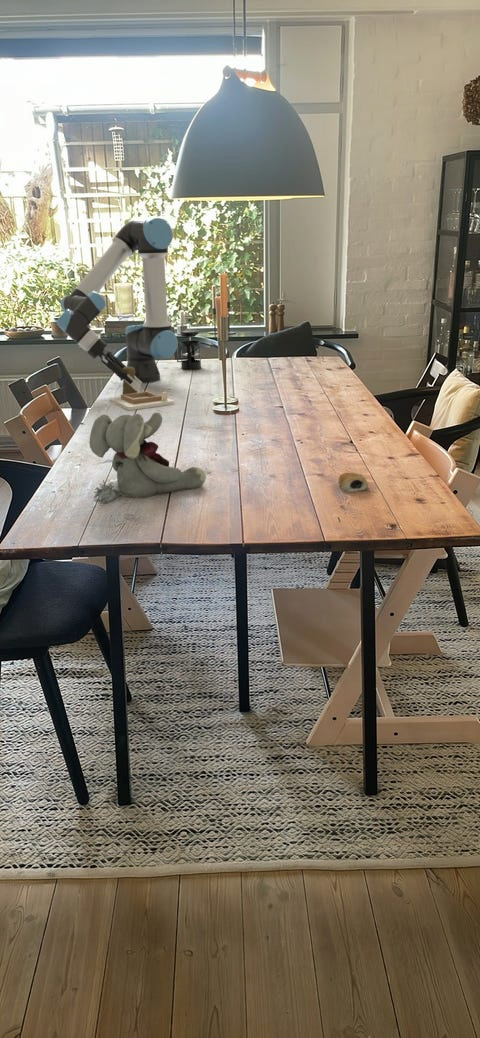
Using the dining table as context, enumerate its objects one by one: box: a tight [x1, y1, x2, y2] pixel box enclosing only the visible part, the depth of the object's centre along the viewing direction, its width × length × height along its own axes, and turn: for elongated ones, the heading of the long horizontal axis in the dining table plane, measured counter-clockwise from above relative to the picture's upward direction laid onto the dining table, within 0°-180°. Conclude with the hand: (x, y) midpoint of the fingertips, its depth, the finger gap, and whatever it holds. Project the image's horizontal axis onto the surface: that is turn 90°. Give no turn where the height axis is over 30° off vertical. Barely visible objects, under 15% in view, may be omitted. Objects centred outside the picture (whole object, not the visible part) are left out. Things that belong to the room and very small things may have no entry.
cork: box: [122, 366, 138, 394], centre depth 296 cm, size 6×6×11 cm
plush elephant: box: [89, 412, 207, 505], centre depth 186 cm, size 27×22×21 cm
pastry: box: [338, 472, 369, 493], centre depth 189 cm, size 9×7×4 cm
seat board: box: [108, 390, 175, 411], centre depth 284 cm, size 18×18×4 cm
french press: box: [176, 316, 202, 371], centre depth 350 cm, size 12×9×23 cm
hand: (139, 386), depth 297 cm, fingers closed on cork, 5 cm apart
